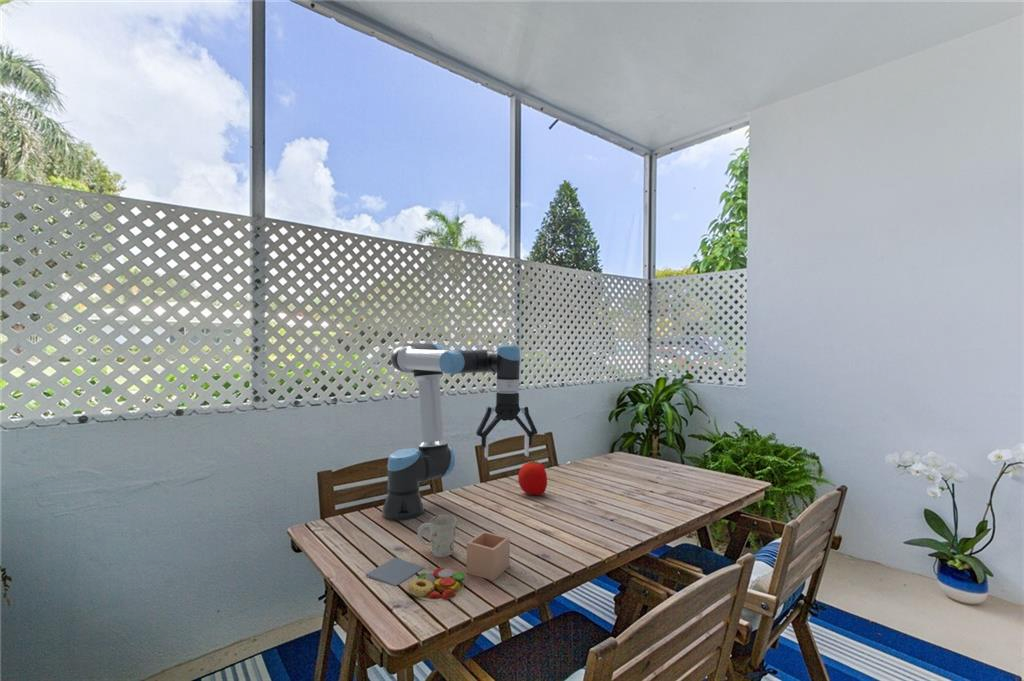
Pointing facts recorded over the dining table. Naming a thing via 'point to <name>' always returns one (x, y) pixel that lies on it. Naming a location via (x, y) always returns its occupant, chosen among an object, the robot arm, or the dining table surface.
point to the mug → (440, 534)
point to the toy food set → (437, 585)
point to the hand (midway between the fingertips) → (506, 456)
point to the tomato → (533, 478)
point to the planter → (488, 555)
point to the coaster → (395, 571)
